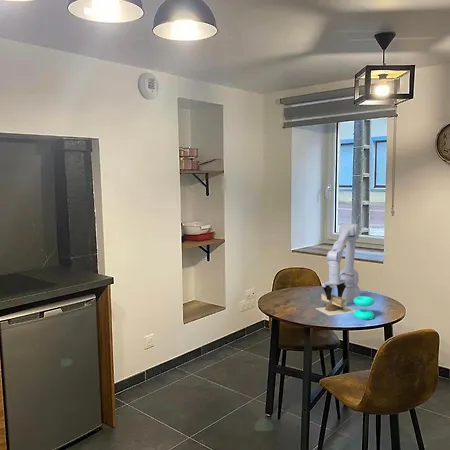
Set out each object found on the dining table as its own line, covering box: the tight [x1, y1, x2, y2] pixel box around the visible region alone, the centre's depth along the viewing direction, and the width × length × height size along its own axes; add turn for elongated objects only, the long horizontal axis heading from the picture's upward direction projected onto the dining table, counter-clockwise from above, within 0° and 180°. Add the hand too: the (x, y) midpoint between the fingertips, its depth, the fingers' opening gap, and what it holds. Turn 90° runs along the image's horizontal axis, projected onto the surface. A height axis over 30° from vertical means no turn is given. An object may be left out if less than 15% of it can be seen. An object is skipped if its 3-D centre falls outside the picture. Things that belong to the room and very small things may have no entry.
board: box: [315, 305, 357, 316], centre depth 244 cm, size 18×14×1 cm
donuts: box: [352, 295, 375, 321], centre depth 231 cm, size 10×10×10 cm
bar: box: [321, 292, 347, 307], centre depth 245 cm, size 4×16×4 cm, turn 25°
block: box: [325, 302, 344, 312], centre depth 245 cm, size 9×4×4 cm, turn 108°
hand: (334, 298), depth 244 cm, fingers open, 7 cm apart
